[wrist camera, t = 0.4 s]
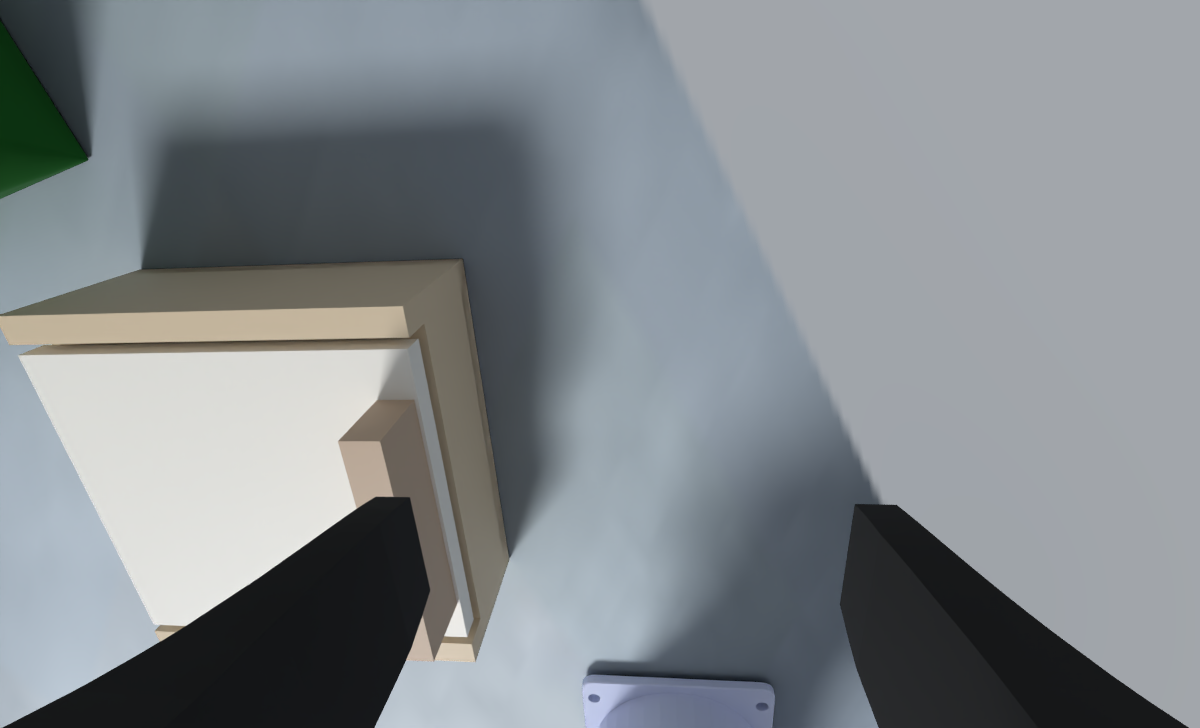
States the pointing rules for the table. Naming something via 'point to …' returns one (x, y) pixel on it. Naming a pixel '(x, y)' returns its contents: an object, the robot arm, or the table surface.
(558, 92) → the table surface
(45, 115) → the milk carton
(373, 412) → the lid
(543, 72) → the table surface
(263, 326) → the box
